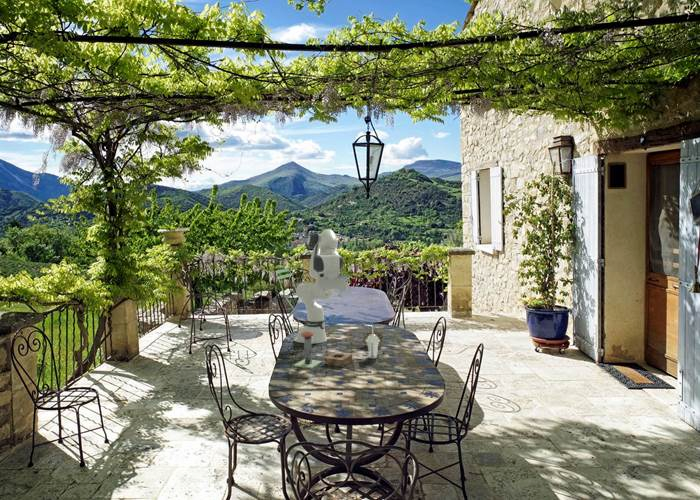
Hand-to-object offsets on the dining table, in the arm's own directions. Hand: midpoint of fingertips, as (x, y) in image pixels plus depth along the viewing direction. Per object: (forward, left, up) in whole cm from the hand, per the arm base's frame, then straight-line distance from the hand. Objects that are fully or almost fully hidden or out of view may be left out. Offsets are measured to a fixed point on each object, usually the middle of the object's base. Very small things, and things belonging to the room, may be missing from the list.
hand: (333, 296), depth 326 cm
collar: (+14, -22, -34) cm, 43 cm away
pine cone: (+15, +15, -34) cm, 40 cm away
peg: (-1, -31, -33) cm, 46 cm away
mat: (-1, -31, -34) cm, 46 cm away
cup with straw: (+28, -5, -34) cm, 45 cm away
